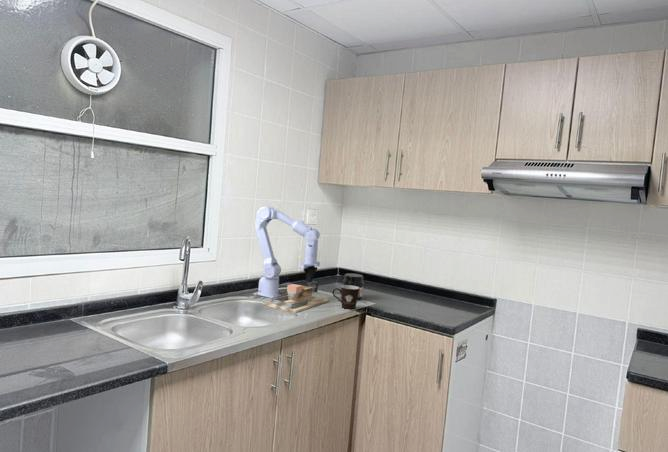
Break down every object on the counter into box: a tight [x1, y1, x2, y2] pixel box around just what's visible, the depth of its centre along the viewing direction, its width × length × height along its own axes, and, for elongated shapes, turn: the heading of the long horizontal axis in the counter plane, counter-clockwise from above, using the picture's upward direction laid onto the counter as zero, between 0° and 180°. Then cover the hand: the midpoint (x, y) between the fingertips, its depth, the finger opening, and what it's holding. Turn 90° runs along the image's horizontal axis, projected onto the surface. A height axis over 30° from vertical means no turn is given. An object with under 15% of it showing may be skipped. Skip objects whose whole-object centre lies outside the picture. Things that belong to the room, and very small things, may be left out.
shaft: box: [287, 280, 319, 298], centre depth 222 cm, size 5×20×5 cm, turn 150°
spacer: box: [286, 283, 303, 294], centre depth 216 cm, size 5×5×3 cm
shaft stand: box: [263, 284, 330, 313], centre depth 219 cm, size 17×29×8 cm, turn 150°
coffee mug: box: [332, 284, 359, 310], centre depth 218 cm, size 12×9×10 cm
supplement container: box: [342, 273, 365, 301], centre depth 239 cm, size 10×10×12 cm
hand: (309, 281), depth 226 cm, fingers closed
